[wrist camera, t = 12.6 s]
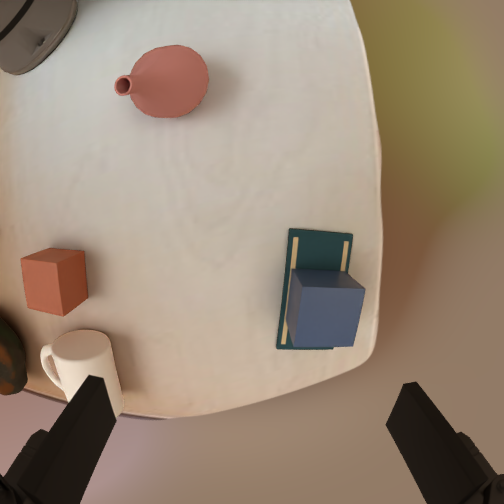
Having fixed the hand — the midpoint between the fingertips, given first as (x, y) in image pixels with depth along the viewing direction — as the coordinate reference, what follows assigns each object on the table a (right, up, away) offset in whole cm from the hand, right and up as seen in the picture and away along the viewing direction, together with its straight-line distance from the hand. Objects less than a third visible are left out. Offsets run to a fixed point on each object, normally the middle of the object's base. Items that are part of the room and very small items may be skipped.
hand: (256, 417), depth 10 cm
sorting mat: (+7, +2, +21) cm, 22 cm away
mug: (-23, -8, +23) cm, 33 cm away
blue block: (+7, +2, +20) cm, 21 cm away
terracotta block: (-23, +4, +20) cm, 31 cm away
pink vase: (-8, +25, +15) cm, 30 cm away
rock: (-40, -8, +22) cm, 46 cm away
